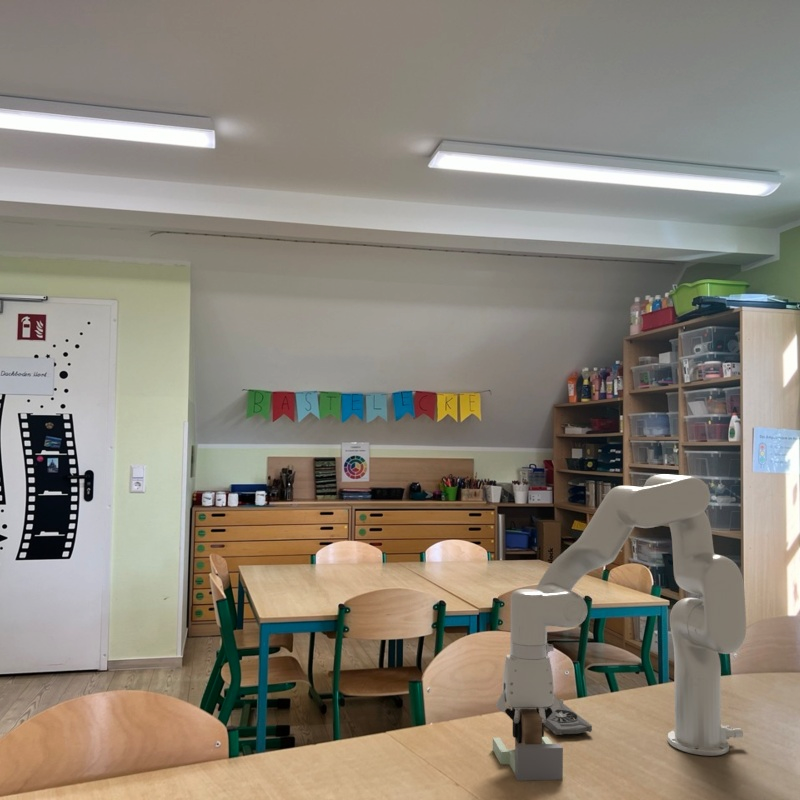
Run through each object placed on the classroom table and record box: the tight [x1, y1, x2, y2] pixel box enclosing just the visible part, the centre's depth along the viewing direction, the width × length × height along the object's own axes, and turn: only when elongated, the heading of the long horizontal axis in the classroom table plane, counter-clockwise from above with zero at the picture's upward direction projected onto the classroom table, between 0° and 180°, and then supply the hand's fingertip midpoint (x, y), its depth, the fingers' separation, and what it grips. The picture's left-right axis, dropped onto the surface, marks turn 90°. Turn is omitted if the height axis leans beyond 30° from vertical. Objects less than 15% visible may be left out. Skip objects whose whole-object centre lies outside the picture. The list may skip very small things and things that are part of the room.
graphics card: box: [535, 698, 593, 737], centre depth 174 cm, size 17×4×12 cm
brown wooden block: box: [514, 708, 542, 746], centre depth 154 cm, size 4×8×9 cm, turn 5°
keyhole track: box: [492, 736, 564, 782], centre depth 152 cm, size 12×15×6 cm
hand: (528, 739), depth 154 cm, fingers closed on brown wooden block, 3 cm apart
